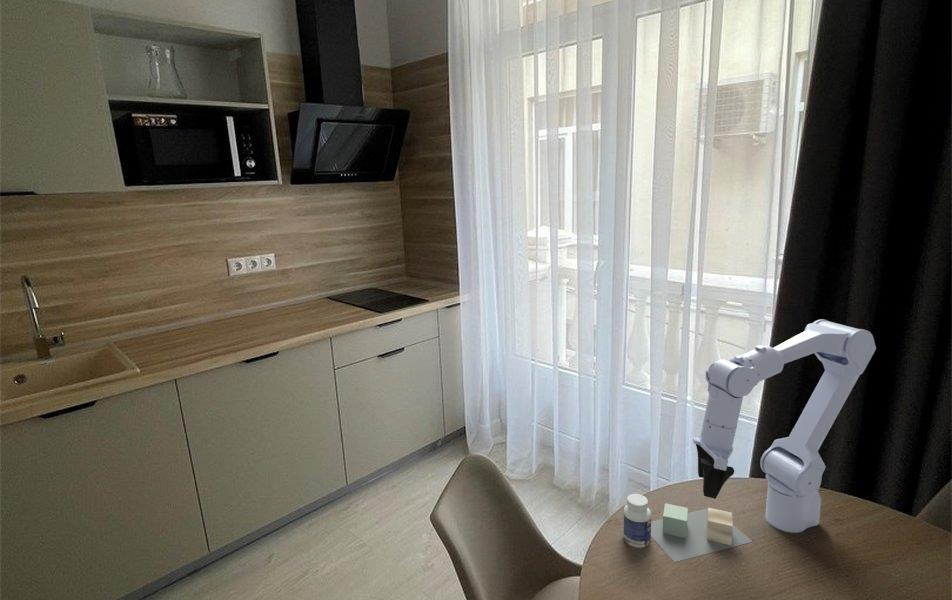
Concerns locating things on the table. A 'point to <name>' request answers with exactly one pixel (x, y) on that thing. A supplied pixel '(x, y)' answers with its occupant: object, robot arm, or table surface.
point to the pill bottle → (637, 521)
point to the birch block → (719, 526)
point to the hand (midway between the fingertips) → (706, 486)
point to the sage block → (675, 520)
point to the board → (693, 538)
